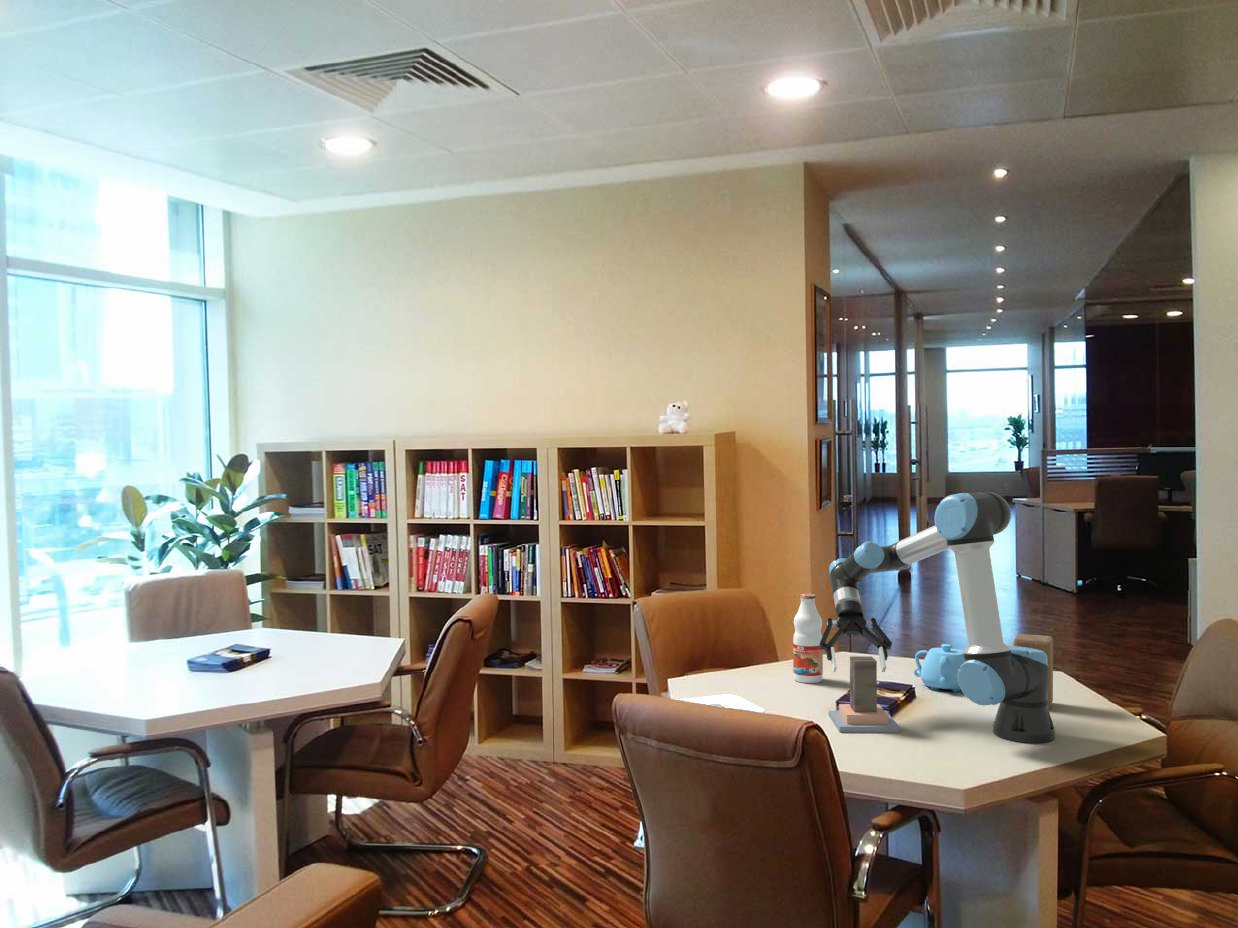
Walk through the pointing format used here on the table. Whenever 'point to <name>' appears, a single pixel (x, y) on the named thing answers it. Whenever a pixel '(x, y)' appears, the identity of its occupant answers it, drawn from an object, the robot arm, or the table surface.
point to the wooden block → (1044, 645)
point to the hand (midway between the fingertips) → (859, 669)
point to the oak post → (863, 684)
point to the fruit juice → (807, 642)
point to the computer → (726, 702)
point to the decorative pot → (940, 667)
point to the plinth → (863, 726)
